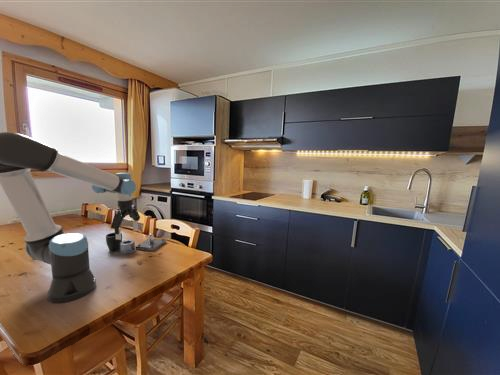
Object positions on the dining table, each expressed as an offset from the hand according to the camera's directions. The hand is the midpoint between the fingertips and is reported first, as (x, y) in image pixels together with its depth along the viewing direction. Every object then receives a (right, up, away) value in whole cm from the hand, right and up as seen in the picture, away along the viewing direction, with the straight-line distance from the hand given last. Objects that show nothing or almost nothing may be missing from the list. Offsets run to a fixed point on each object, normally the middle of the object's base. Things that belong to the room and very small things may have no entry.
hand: (127, 234), depth 122 cm
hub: (0, -10, +1) cm, 11 cm away
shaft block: (+9, -9, +11) cm, 17 cm away
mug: (-9, -10, +2) cm, 14 cm away
